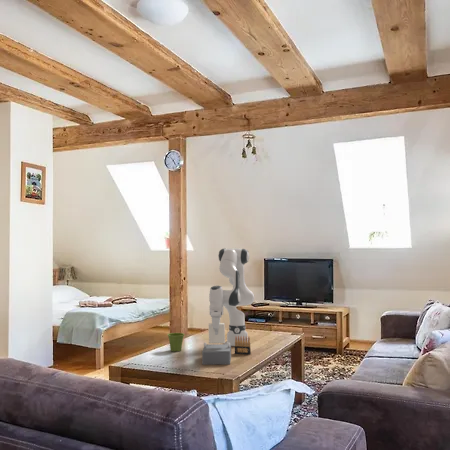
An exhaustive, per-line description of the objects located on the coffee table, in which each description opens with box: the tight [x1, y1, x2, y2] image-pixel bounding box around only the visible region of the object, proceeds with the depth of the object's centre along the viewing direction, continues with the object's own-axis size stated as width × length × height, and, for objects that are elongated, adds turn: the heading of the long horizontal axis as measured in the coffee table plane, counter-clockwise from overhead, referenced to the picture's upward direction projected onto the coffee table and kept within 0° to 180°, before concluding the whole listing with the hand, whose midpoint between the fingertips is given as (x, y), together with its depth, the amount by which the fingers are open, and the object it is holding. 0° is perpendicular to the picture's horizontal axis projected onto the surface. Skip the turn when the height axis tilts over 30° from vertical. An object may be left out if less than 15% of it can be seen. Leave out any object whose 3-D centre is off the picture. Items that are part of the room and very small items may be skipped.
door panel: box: [208, 322, 226, 344], centre depth 321 cm, size 3×10×12 cm, turn 88°
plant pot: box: [167, 332, 185, 352], centre depth 351 cm, size 12×12×11 cm
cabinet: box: [201, 342, 232, 365], centre depth 320 cm, size 21×17×11 cm
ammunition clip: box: [234, 336, 252, 356], centre depth 338 cm, size 11×2×12 cm, turn 73°
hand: (216, 333), depth 321 cm, fingers closed on door panel, 3 cm apart
